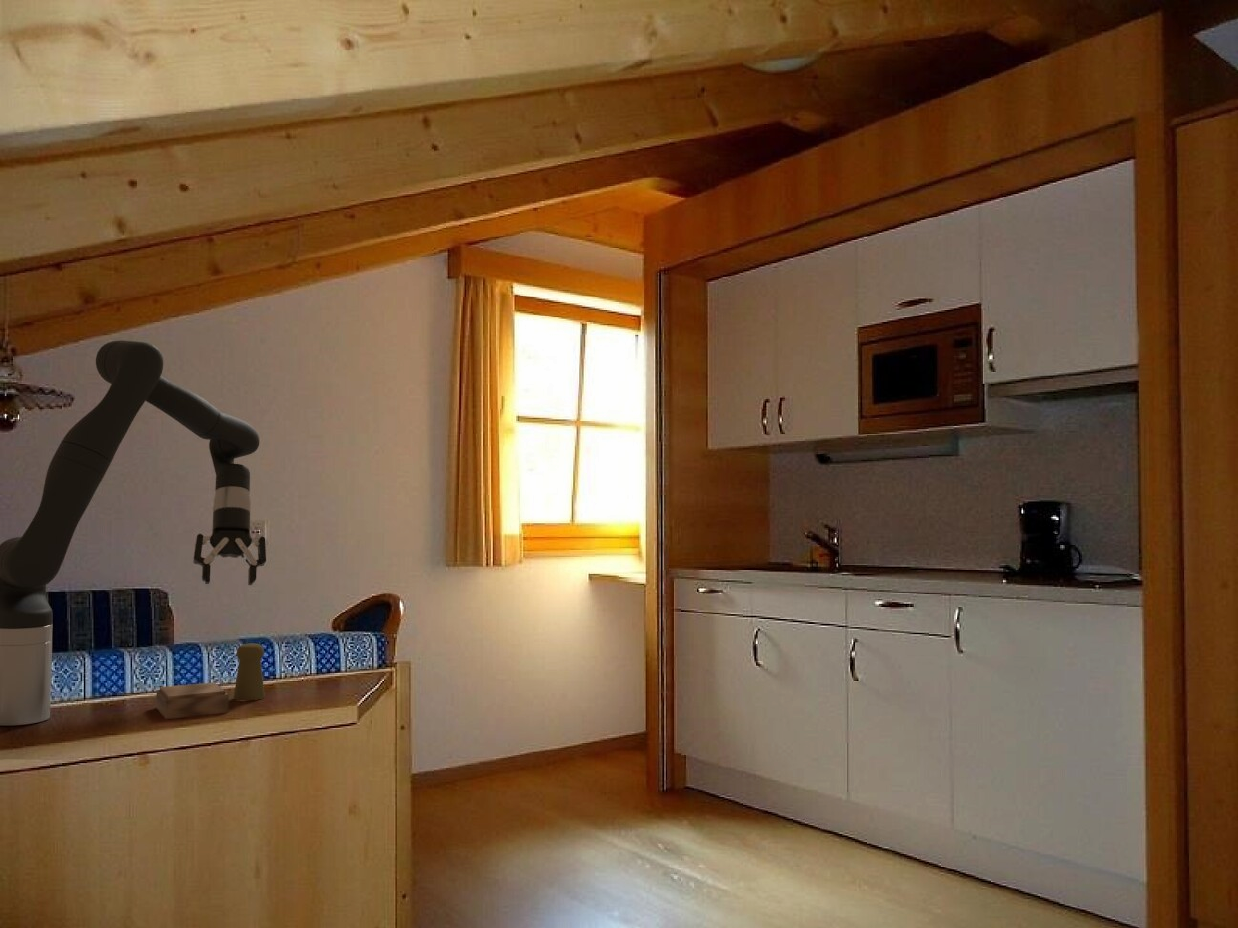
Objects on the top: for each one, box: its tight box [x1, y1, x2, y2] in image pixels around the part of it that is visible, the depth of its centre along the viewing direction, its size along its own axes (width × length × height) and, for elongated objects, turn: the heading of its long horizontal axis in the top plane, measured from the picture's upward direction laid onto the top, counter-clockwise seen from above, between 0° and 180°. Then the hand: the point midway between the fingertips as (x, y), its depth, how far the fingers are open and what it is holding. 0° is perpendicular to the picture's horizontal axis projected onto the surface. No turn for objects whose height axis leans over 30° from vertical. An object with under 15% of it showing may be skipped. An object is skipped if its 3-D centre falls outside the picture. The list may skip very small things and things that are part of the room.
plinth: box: [155, 681, 230, 720], centre depth 191 cm, size 11×11×4 cm
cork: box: [232, 642, 266, 702], centre depth 203 cm, size 6×6×11 cm
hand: (229, 583), depth 210 cm, fingers open, 8 cm apart
